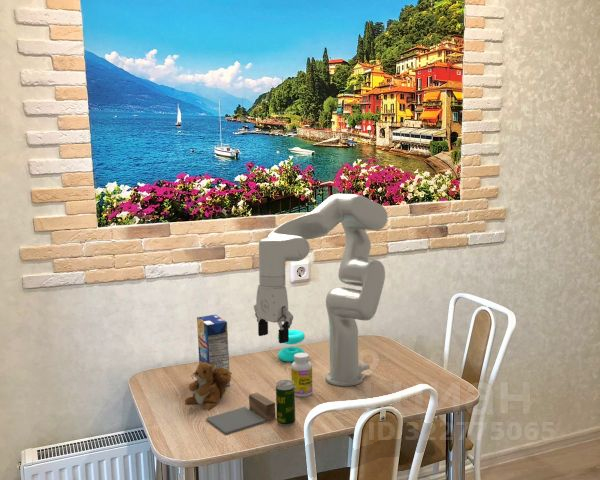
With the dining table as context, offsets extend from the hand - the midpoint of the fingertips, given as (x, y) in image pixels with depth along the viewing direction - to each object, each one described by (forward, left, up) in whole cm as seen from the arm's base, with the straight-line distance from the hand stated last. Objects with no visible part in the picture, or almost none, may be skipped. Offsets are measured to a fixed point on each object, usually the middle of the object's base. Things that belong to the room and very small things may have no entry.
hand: (273, 338), depth 186 cm
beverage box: (+3, -34, -24) cm, 42 cm away
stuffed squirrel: (+11, -21, -24) cm, 34 cm away
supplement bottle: (-15, -8, -24) cm, 29 cm away
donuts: (-31, -38, -24) cm, 55 cm away
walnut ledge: (+3, -3, -23) cm, 24 cm away
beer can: (+1, +7, -24) cm, 24 cm away
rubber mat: (+12, -3, -23) cm, 26 cm away
